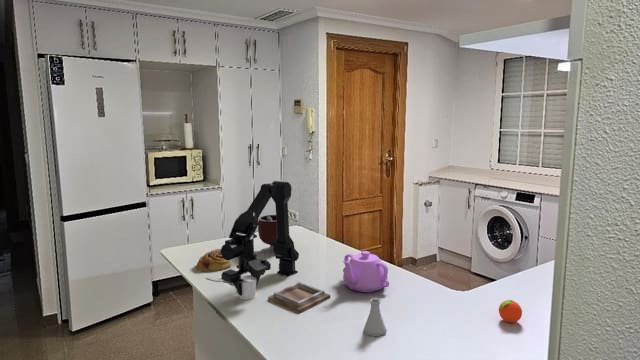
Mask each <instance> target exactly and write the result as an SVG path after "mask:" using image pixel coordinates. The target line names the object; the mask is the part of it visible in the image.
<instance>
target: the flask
mask: <svg viewBox="0 0 640 360" xmlns="http://www.w3.org/2000/svg"><path fill="white" fill-rule="evenodd" d="M369 301H370V311H369V314H368V317H367V320H366V322H365V324H364V328H363V332H364V333H365V334H366V335H367V336H372V337H373V336H374V337H379V336H383V335H386V334H387V327H386V325H385V322H384V320H383V316H382V313H381V309H380V304H381V300H380V299H379V298H371V299H370V300H369Z"/></svg>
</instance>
